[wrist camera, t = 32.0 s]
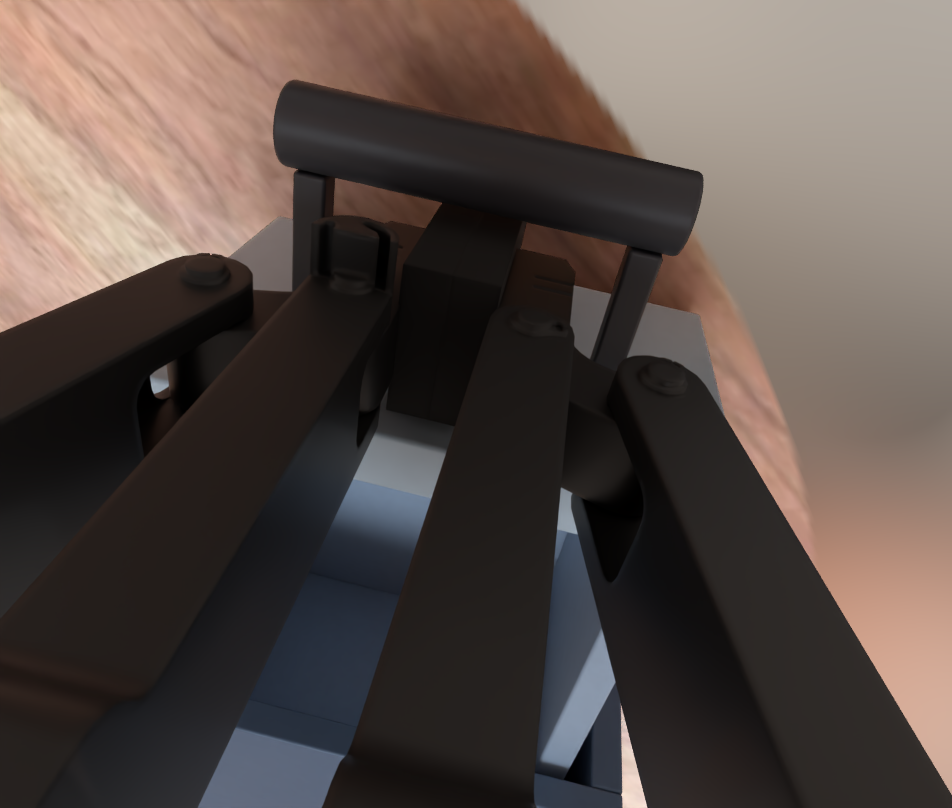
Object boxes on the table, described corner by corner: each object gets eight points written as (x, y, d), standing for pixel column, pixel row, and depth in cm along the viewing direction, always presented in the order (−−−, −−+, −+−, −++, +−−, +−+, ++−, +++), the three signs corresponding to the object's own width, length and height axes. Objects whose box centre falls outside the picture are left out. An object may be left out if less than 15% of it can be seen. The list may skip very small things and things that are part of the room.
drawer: (278, 22, 15) (39, 79, 9) (776, 134, 15) (904, 279, 8) (277, 553, 25) (168, 754, 19) (568, 625, 25) (555, 855, 19)
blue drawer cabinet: (271, 448, 24) (107, 695, 16) (618, 533, 23) (623, 829, 16) (273, 677, 32) (166, 911, 24) (527, 742, 32) (501, 1001, 24)
